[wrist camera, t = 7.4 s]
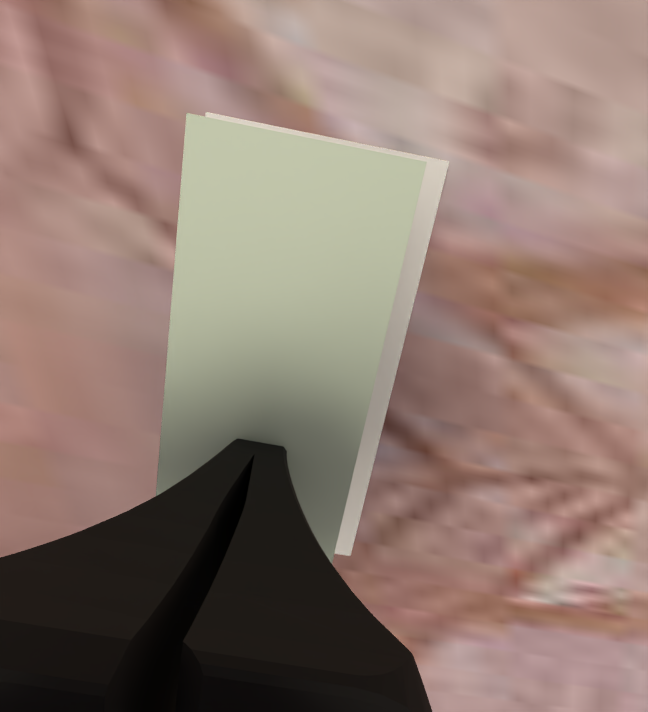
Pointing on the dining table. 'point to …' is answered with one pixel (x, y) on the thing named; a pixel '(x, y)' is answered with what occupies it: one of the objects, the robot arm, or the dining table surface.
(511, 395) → the dining table surface
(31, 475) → the dining table surface
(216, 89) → the dining table surface
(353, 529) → the off-white flat rectangular panel
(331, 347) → the sage lintel
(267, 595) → the robot arm
